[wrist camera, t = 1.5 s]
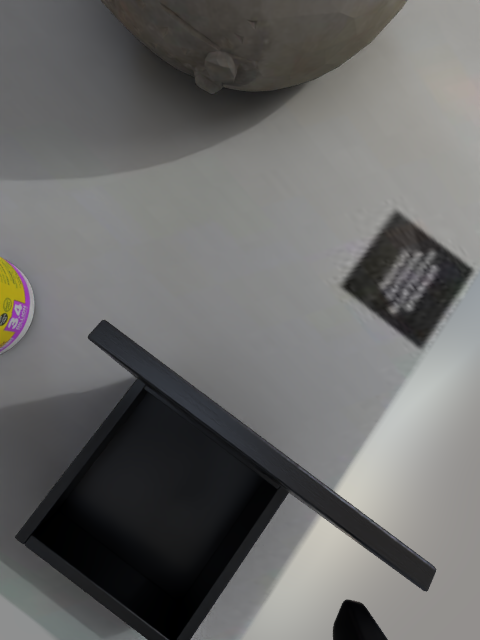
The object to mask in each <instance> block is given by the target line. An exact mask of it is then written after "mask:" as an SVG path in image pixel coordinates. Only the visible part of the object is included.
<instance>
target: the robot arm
mask: <svg viewBox="0 0 480 640" xmlns="http://www.w3.org/2000/svg"><path fill="white" fill-rule="evenodd" d="M333 640H388V639H387V638H386V636H385V635H384V633H383V632H382V631H381V629H380V628H379V626H378V625H377V623H376V622H375V620H374V619H373V617H372V616H371V614H370V613H369V611H368V610H367V608H366V607H365V606H364V605H363V604H362V603H360V602H357V601H352V600H345V601H344V602H343V603H342V606H341V608H340V610H339V613H338V615H337V618H336V620H335V622H334V626H333Z"/></svg>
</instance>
